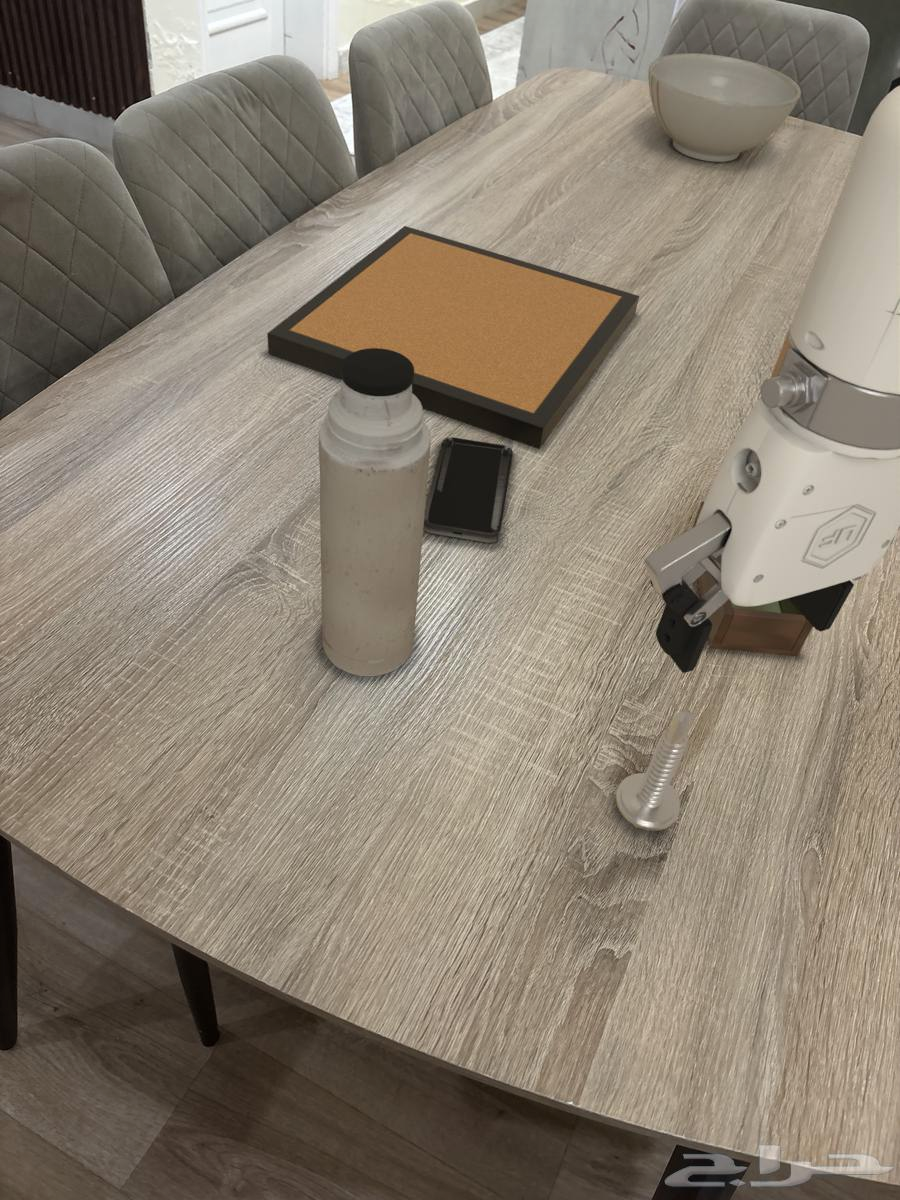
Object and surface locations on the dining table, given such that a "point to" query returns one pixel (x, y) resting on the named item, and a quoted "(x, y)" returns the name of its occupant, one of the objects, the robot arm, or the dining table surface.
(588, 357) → the cork board
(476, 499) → the phone
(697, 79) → the decorative bowl
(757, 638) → the organiser
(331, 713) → the dining table surface
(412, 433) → the thermos bottle
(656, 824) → the screw
